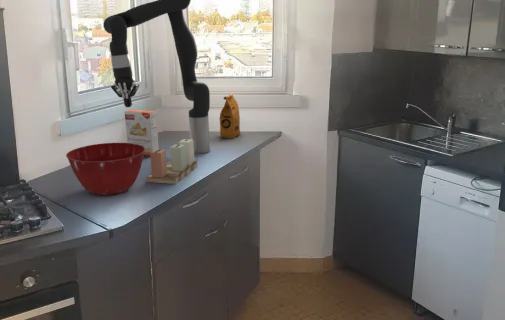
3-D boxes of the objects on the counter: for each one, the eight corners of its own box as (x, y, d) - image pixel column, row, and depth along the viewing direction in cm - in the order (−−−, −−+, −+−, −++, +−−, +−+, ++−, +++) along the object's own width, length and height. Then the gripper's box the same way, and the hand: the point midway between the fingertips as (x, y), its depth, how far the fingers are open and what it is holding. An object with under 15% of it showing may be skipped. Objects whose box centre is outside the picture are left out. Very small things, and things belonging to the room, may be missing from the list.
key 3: (152, 176, 203) (150, 151, 200) (157, 173, 207) (155, 148, 204) (162, 177, 202) (160, 152, 199) (167, 173, 206) (165, 149, 203)
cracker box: (127, 154, 245) (123, 111, 239) (135, 151, 250) (131, 109, 244) (152, 156, 240) (149, 112, 234) (159, 153, 245) (156, 110, 239)
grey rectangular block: (180, 164, 218) (179, 141, 216) (184, 161, 223) (183, 138, 220) (190, 165, 217) (189, 141, 214) (194, 162, 221) (193, 139, 219)
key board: (175, 183, 201) (175, 176, 200) (147, 181, 204) (146, 174, 203) (197, 166, 222) (197, 159, 221) (171, 165, 225) (170, 158, 224)
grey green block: (172, 170, 210) (170, 146, 207) (176, 167, 214) (174, 143, 211) (182, 171, 209) (180, 147, 206) (186, 168, 213) (184, 144, 210)
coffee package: (217, 137, 273) (215, 96, 267) (225, 132, 284) (224, 93, 278) (234, 138, 270) (233, 97, 263) (242, 133, 281) (241, 93, 275)
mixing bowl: (110, 174, 215) (107, 138, 210) (163, 184, 201) (160, 146, 196) (55, 195, 192) (49, 155, 187) (110, 208, 177) (105, 165, 173)
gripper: (140, 63, 213) (146, 104, 218) (113, 65, 218) (120, 105, 223) (130, 66, 206) (137, 108, 212) (102, 67, 211) (110, 109, 216)
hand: (128, 106), depth 217 cm, fingers closed
